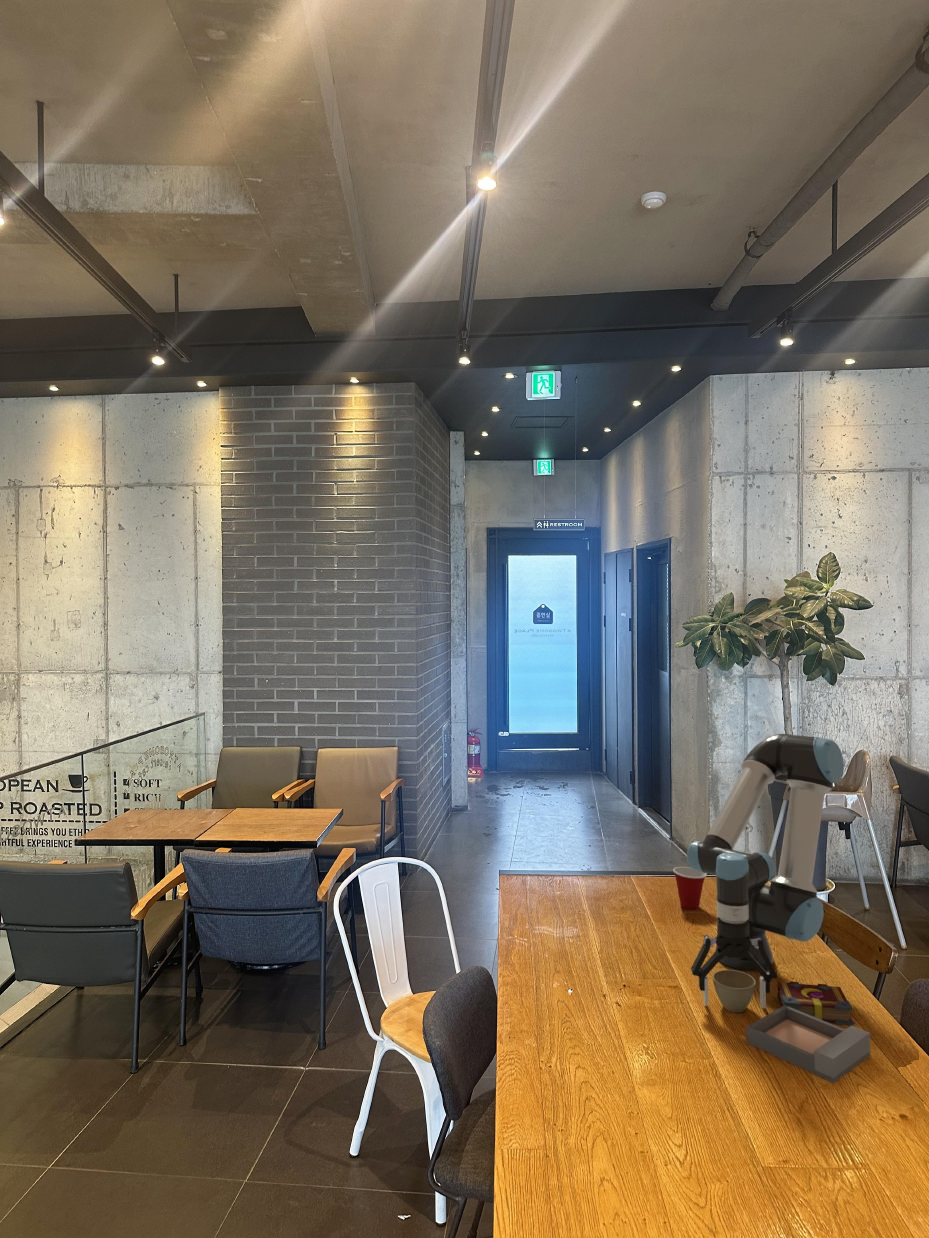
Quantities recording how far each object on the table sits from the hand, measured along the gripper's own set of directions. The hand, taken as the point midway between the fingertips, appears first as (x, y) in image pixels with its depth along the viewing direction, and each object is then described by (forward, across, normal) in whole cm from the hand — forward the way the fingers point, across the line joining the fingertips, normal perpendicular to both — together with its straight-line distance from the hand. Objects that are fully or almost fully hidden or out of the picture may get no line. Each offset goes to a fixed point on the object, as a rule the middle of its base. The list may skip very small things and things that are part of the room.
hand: (734, 1004), depth 194 cm
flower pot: (+1, 0, 0) cm, 1 cm away
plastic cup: (+1, 0, +68) cm, 68 cm away
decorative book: (+1, +19, 0) cm, 19 cm away
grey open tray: (+1, +12, -18) cm, 21 cm away
